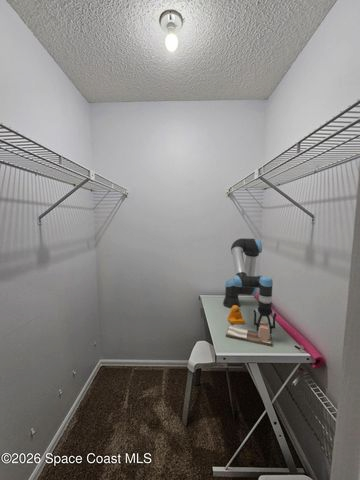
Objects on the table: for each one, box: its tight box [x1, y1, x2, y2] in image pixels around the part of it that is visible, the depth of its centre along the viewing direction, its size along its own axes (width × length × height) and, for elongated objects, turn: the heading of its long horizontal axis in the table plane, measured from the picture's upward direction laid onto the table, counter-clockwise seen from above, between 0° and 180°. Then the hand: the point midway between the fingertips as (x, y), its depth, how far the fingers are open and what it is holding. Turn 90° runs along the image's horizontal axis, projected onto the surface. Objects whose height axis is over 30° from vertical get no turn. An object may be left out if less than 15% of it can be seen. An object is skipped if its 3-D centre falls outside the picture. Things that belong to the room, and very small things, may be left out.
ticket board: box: [225, 326, 274, 347], centre depth 134 cm, size 12×28×2 cm, turn 68°
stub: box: [259, 320, 269, 342], centre depth 131 cm, size 9×5×8 cm, turn 158°
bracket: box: [227, 305, 246, 326], centre depth 154 cm, size 11×7×12 cm, turn 94°
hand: (263, 337), depth 130 cm, fingers closed on stub, 5 cm apart
